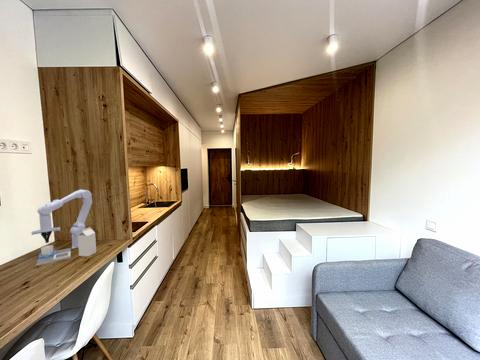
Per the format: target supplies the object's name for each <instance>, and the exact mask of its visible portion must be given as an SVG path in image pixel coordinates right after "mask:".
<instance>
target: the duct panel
mask: <svg viewBox="0 0 480 360" xmlns="http://www.w3.org/2000/svg"><path fill="white" fill-rule="evenodd" d="M71 253H72V247H68V248H64V249H58V250H57V249H56V254H55V255H54V256H51V257H48V258H41V259H39V258H38V259H37V261H36V264H35V266H40V265H41V266H42V265H45V264H50V263H54V262H59V261H64V260H67V259H71V257H72V255H71Z"/></svg>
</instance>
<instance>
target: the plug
mask: <svg viewBox="0 0 480 360" xmlns="http://www.w3.org/2000/svg"><path fill="white" fill-rule="evenodd" d="M54 250H55V249H54V245H51V244H50V245H44V246H43V247H41V248H40V251H41V252H40V253H42V256H45V255H50V254H54Z"/></svg>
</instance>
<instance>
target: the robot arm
mask: <svg viewBox="0 0 480 360" xmlns="http://www.w3.org/2000/svg"><path fill="white" fill-rule="evenodd" d="M92 195H93V194H92V192H91V191H90V190H88V189H78V190H75V191H74V192H72V193H70V194H69V195H66V196H65V197H63V198H61V199H53V200H52V201H50V202H49V203H46V204H45V205H42V206H39V207H38V208H37V210H36V212H37V213H38V214H39V216H38V217H39V228H40V229H38V230H33V231H31V232H30V233H31V236H33V235H38V234H40V235H41V236H42V238H43V239H44V242H45V244H49V242H50V237H51V235H52V233H53V232H57V231H58V232H59V231H61V227H60V226H58V227H52V215H51V214H52V212H54V211H55V210H57V209H59V208H61V207H63V206H64V204H65V203H68V202H70V201H72V200H73V199H81V200H82V202H83V203H82V206H81V208H80V211H79V214H78V217H77V219H76V222H74V223H73V225H72V226H71V227H70V228H69V232H70V234H71V250H73V249H79V247H78V235H79V234H80V233H81V232H82V230H84V229H86V225H85V222H86V220H87V217H88V214H89V213H90V209H91V206H92V204H93V197H92Z"/></svg>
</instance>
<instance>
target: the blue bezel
mask: <svg viewBox="0 0 480 360" xmlns="http://www.w3.org/2000/svg"><path fill="white" fill-rule="evenodd" d="M53 250H54V254H50V255H45V256H42V253H41V252H39V254H38V258H39V259H41V258H48V257H51V256H54V255H55V254H56V251H57V249H53Z"/></svg>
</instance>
